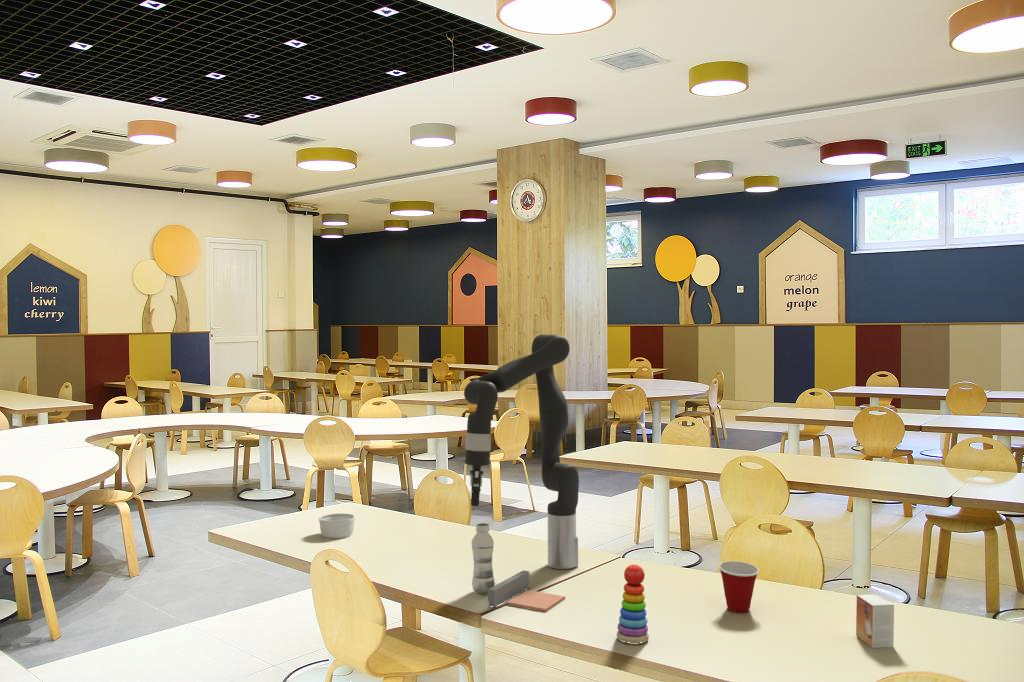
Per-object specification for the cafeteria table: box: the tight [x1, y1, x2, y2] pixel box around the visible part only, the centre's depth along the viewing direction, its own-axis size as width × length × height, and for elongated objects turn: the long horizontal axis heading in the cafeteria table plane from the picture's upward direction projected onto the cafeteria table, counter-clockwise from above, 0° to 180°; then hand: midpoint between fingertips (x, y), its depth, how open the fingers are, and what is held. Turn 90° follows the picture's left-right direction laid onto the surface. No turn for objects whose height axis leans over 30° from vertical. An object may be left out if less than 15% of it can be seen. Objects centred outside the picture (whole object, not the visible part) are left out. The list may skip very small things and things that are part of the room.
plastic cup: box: [718, 560, 760, 614], centre depth 230 cm, size 11×11×12 cm
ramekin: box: [318, 512, 356, 540], centre depth 314 cm, size 13×13×7 cm
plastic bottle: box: [471, 522, 496, 594], centre depth 246 cm, size 6×7×20 cm
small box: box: [855, 594, 895, 649], centre depth 207 cm, size 8×6×10 cm
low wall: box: [487, 569, 530, 608], centre depth 242 cm, size 20×2×5 cm, turn 150°
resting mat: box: [507, 589, 566, 613], centre depth 238 cm, size 12×12×1 cm
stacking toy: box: [616, 564, 650, 643], centre depth 209 cm, size 8×8×19 cm
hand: (474, 503), depth 248 cm, fingers open, 8 cm apart
